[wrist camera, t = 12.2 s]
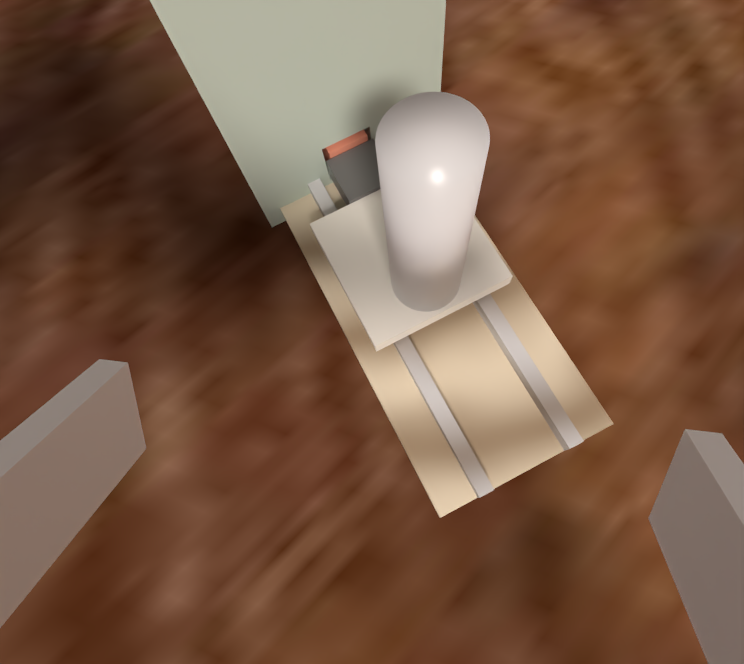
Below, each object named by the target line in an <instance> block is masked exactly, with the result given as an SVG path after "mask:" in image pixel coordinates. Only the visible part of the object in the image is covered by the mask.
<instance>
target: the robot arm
mask: <svg viewBox="0 0 744 664" xmlns="http://www.w3.org/2000/svg"><path fill="white" fill-rule="evenodd" d="M145 449H146V445H145V440H144V435H143V431H142V426H141V421H140V417H139V412H138V407H137V403H136V398H135V393H134V389H133V384H132V379H131V375H130V370H129V365H128V363H127V362H119V361H110V360H102V359H99V360H98V361H97V362H95V363H94V364H93V365H92V366H91V367H89V368H88V369H87V370H86V371H84V372H83V373H82V374H81V375H80V376H78V377H77V378H76V379H75V380H74V381H72V382H71V383H70V384H69V385H67V386H66V387H65V388H64V389H63V390H61V391H60V392H59V393H58V394H57V395H55V396H54V397H53V398H52V399H50V400H49V401H48V402H47V403H46V404H44V405H43V406H42V407H41V408H39V409H38V410H37V411H36V412H35V413H33V414H32V415H31V416H30V417H29V418H27V419H26V420H25V421H24V422H22V423H21V424H20V425H19V426H18V427H16V428H15V429H14V430H13V431H12V432H10V433H9V434H8V435H7V436H5V437H4V438H3V439H2V440H1V441H0V628H1V626H2V625H3V624H4V623H5V622H6V620H7V619H8V618H9V617H10V615H11V614H12V613H13V612H14V611H15V609H16V608H17V607H18V606H19V604H20V603H21V602H22V601H23V599H24V598H25V597H26V596H27V595H28V593H29V592H30V591H31V590H32V588H33V587H34V586H35V585H36V583H37V582H38V581H39V580H40V579H41V577H42V576H43V575H44V574H45V572H46V571H47V570H48V569H49V567H50V566H51V565H52V564H53V563H54V561H55V560H56V559H57V558H58V556H59V555H60V554H61V553H62V552H63V550H64V549H65V548H66V547H67V545H68V544H69V543H70V542H71V540H72V539H73V538H74V537H75V536H76V534H77V533H78V532H79V531H80V529H81V528H82V527H83V526H84V524H85V523H86V522H87V521H88V520H89V518H90V517H91V516H92V515H93V513H94V512H95V511H96V510H97V508H98V507H99V506H100V505H101V504H102V502H103V501H104V500H105V499H106V497H107V496H108V495H109V494H110V493H111V491H112V490H113V489H114V488H115V486H116V485H117V484H118V483H119V481H120V480H121V479H122V478H123V477H124V475H125V474H126V473H127V472H128V470H129V469H130V468H131V467H132V465H133V464H134V463H135V462H136V461H137V459H138V458H139V457H140V456H141V454H142V453H143V452H144V451H145ZM648 519H649V521H650V523H651V526H652V528H653V531H654V533H655V536H656V538H657V540H658V543H659V545H660V548H661V550H662V553H663V555H664V557H665V560H666V562H667V565H668V567H669V570H670V572H671V574H672V577H673V579H674V582H675V584H676V587H677V589H678V591H679V594H680V596H681V599H682V601H683V604H684V606H685V608H686V611H687V613H688V616H689V618H690V621H691V623H692V626H693V628H694V630H695V633H696V635H697V638H698V640H699V643H700V645H701V647H702V650H703V652H704V655H705V657H706V660H707V662H708V664H744V464H743V463H742V461H741V460H740V458H739V457H738V456H737V454H736V453H735V451H734V450H733V448H732V447H731V446H730V444H729V443H728V441H727V440H726V439H725V437H724V436H723V434H721V433H713V432H704V431H696V430H688V429H685V430H684V433H683V435H682V438H681V440H680V442H679V445H678V447H677V450H676V452H675V455H674V457H673V460H672V462H671V465H670V467H669V469H668V472H667V474H666V477H665V479H664V482H663V484H662V487H661V489H660V492H659V494H658V496H657V499H656V501H655V504H654V506H653V509H652V511H651V514H650V516H649V518H648Z"/></svg>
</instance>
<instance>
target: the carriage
mask: <svg viewBox="0 0 744 664" xmlns="http://www.w3.org/2000/svg"><path fill="white" fill-rule="evenodd" d="M489 144H490V133H489V128H488V125H487V122H486V120H485V118H484V117H483V115H482V113H481V112H480V111H479V110H478V109H477V108H476V107H475V106H474V105H473V104H471V103H470V102H469V101H467V100H465V99H463V98H461V97H459V96H456V95H454V94H450V93H445V92H424V93H418V94H415V95H411V96H409V97H407V98H404V99H403V100H401V101H399V102H398V103H396V104H395V105H393V106H392V107H391V108H390V109H389V110H388V111H387V112H386V113H385V115H384V116H383V118H382V119H381V121H380V123H379V125H378V128H377V131H376V137H375V141H374V139H371V140H369V141H366V142H364V143H362V144H360V145H358V146H356V147H354V148H352V149H350V150H348V151H346V152H344V153H342V154H339V155H337V156H335V157H333V158H331V159H329V160H327V161H326V162H327V166H328V170H329V174H330V177H331V179H332V181H333V183H334V184H335V186H336V188H337V190H338V191H339V193H340V195H341V197H342V198H343V200H344V202H345V204H346V205H347V206H345V207H343V208H341V209H339V210H337V211H335V212H333V213H331V214H329V215H326V216H324V217H322V218H320V219H318V220H316V221H314V222H312V223H310V226H311V229H312V231H313V234H314V235H315V237H316V239H317V241H318V243H319V245H320V247H321V249H322V250H323V252H324V254H325V256H326V258H327V260H328V262H329V264H330V265H331V267H332V269H333V271H334V273H335V275H336V277H337V279H338V280H339V282H340V284H341V286H342V288H343V290H344V292H345V294H346V296H347V297H348V299H349V301H350V303H351V305H352V307H353V309H354V311H355V312H356V314H357V316H358V318H359V320H360V322H361V324H362V326H363V327H364V329H365V331H366V333H367V335H368V337H369V339H370V341H371V342H372V344H373V346H374V348H375V350H376V352H377V351H379V350H381V349H383V348H385V347H387V346H389V345H391V344H393V343H394V342H396V341H398V340H400V339H402V338H404V337H406V336H408V335H410V334H412V333H414V332H416V331H418V330H420V329H422V328H424V327H426V326H428V325H430V324H432V323H433V322H435V321H437V320H439V319H441V318H443V317H445V316H447V315H449V314H451V313H453V312H455V311H457V310H459V309H461V308H463V307H465V306H467V305H469V304H471V303H472V302H474V301H476V300H478V299H480V298H482V297H484V296H486V295H488V294H490V293H492V292H494V291H496V290H498V289H500V288H502V287H504V286H506V285H508V284H509V283H510V281H511V279H512V277H513V276H512V274H511V272H510V271H509V269H508V268H507V266H506V265H505V263H504V262H503V260H502V259H501V257H500V256H499V254H498V253H497V251H496V250H495V248H494V247H493V245H492V244H491V242H490V241H489V239H488V238H487V236H486V235H485V233H484V232H483V230H482V229H481V227H480V226H479V224H478V223H477V221H476V220H475V218H474V216H475V211H476V206H477V201H478V197H479V192H480V187H481V182H482V177H483V173H484V168H485V163H486V158H487V153H488V149H489Z"/></svg>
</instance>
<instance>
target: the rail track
mask: <svg viewBox="0 0 744 664" xmlns="http://www.w3.org/2000/svg"><path fill="white" fill-rule="evenodd" d="M308 187H309V190H310V192H311V194H308V195H306V196H304V197H302V198H300V199H298V200H296V201H294V202H292V203H290V204H288V205H286V206H284V207H282V208H280V209H281V211H282V213H283V215H284V218H285V220H286V222H287V224H288V226H289V227H290V229H291V231H292V233H293V235H294V237H295V239H296V241H297V243H298V245H299V247H300V249H301V251H302V253H303V255H304V256H305V258H306V260H307V262H308V264H309V266H310V268H311V270H312V272H313V274H314V276H315V278H316V280H317V282H318V284H319V285H320V287H321V289H322V291H323V293H324V295H325V297H326V299H327V301H328V303H329V305H330V307H331V309H332V311H333V313H334V314H335V316H336V318H337V320H338V322H339V324H340V326H341V328H342V330H343V332H344V334H345V336H346V338H347V340H348V342H349V343H350V345H351V347H352V349H353V351H354V353H355V355H356V357H357V359H358V361H359V363H360V365H361V367H362V369H363V371H364V372H365V374H366V376H367V378H368V380H369V382H370V384H371V386H372V388H373V390H374V392H375V394H376V396H377V398H378V400H379V401H380V403H381V405H382V407H383V409H384V411H385V413H386V415H387V417H388V419H389V421H390V423H391V425H392V427H393V429H394V431H395V432H396V434H397V436H398V438H399V440H400V442H401V444H402V446H403V448H404V450H405V452H406V454H407V456H408V458H409V460H410V461H411V463H412V465H413V467H414V469H415V471H416V473H417V475H418V477H419V479H420V481H421V483H422V485H423V487H424V489H425V490H426V492H427V494H428V496H429V498H430V500H431V502H432V504H433V506H434V508H435V510H436V512H437V514H438V516H439V517H440V518H441V517H442V516H444V515H446V514H448V513H450V512H452V511H454V510H455V509H457V508H459V507H461V506H463V505H465V504H466V503H468V502H470V501H472V500H474V499H476V498H480V497H482V496H484V495H486V494H487V493H489V492H491V491H493V490H494V488H496V487H498V486H500V485H501V484H503V483H505V482H507V481H509V480H511V479H513V478H514V477H516V476H518V475H520V474H522V473H524V472H525V471H527V470H529V469H531V468H533V467H535V466H537V465H538V464H540V463H542V462H544V461H546V460H548V459H549V458H551V457H553V456H555V455H557V454H559V453H560V452H562V451H564V450H568V449H570V448H572V447H574V446H576V445H578V444H580V443H581V442H583V441H584V439H586V438H588V437H590V436H592V435H594V434H596V433H597V432H599V431H601V430H603V429H605V428H607V427H608V426H610V425H612V424H613V422H612V421H611V419H610V418H609V416H608V415H607V413H606V412H605V410H604V409H603V407H602V406H601V404H600V403H599V401H598V400H597V398H596V397H595V395H594V394H593V392H592V391H591V389H590V388H589V386H588V385H587V383H586V382H585V380H584V379H583V377H582V376H581V374H580V373H579V371H578V370H577V368H576V367H575V365H574V364H573V362H572V361H571V359H570V358H569V356H568V355H567V353H566V352H565V350H564V349H563V347H562V346H561V344H560V343H559V341H558V340H557V338H556V337H555V335H554V334H553V332H552V330H551V329H550V327H549V326H548V324H547V323H546V321H545V320H544V318H543V317H542V315H541V314H540V312H539V311H538V309H537V308H536V306H535V305H534V303H533V302H532V300H531V299H530V297H529V296H528V294H527V293H526V291H525V290H524V288H523V287H522V285H521V284H520V282H519V281H518V279H517V278H516V276H515V275H514V273H513V272H512V270H511V269H510V267H509V266H508V264H507V263H506V261H505V260H504V258H503V257H502V255H501V254H500V252H499V251H498V249H497V248H496V246H495V245H494V243H493V242H492V240H491V239H490V237H489V236H488V234H487V233H486V231H485V230H484V228H483V227H482V225H481V224H480V222H479V221H478V219H477V218H476V216H474V218H475V220H476V221H477V223H478V224H479V226H480V227H481V229H482V230H483V232H484V233H485V235H486V236H487V238H488V239H489V241H490V242H491V244H492V245H493V247H494V248H495V250H496V251H497V253H498V254H499V256H500V257H501V259H502V260H503V262H504V263H505V265H506V266H507V268H508V269H509V271H510V272H511V274H512V276H513V277H512V279H511V281H510V283H509V284H508V285H506V286H504V287H502V288H500V289H498V290H496V291H494V292H492V293H490V294H488V295H486V296H484V297H482V298H480V299H478V300H476V301H474V302H472V303H471V304H469V305H467V306H465V307H463V308H461V309H459V310H457V311H455V312H453V313H451V314H449V315H447V316H445V317H443V318H441V319H439V320H437V321H435V322H433V323H432V324H430V325H428V326H426V327H424V328H422V329H420V330H418V331H416V332H414V333H412V334H410V335H408V336H406V337H404V338H402V339H400V340H398V341H396V342H394V343H393V344H391V345H389V346H387V347H385V348H383V349H381V350H379V351H377V352H376V350H375V348H374V346H373V344H372V342H371V341H370V339H369V337H368V335H367V333H366V331H365V329H364V327H363V326H362V324H361V322H360V320H359V318H358V316H357V314H356V312H355V311H354V309H353V307H352V305H351V303H350V301H349V299H348V297H347V296H346V294H345V292H344V290H343V288H342V286H341V284H340V282H339V280H338V279H337V277H336V275H335V273H334V271H333V269H332V267H331V265H330V264H329V262H328V260H327V258H326V256H325V254H324V252H323V250H322V249H321V247H320V245H319V243H318V241H317V239H316V237H315V235H314V234H313V231H312V229H311V226H310V223H312V222H314V221H316V220H318V219H320V218H322V217H324V216H326V215H329V214H331V213H333V212H335V211H337V210H339V209H341V208H343V207H345V206H347V205H346V204H345V202H344V200H343V198H342V197H341V195H340V193H339V191H338V190H337V188H336V186H335V184H334V183H331V184H329V185H327V186H325V187H324V185H323V183H322V182H321V180H320V178H319V179H317V180H315V181H313V182H311V183H309V184H308Z"/></svg>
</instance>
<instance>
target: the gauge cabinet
mask: <svg viewBox="0 0 744 664" xmlns="http://www.w3.org/2000/svg"><path fill="white" fill-rule="evenodd" d="M150 2H151V4H152V6H153V8H154V9H155V11H156V13H157V15H158V17H159V19H160V21H161V22H162V24H163V26H164V28H165V30H166V32H167V34H168V35H169V37H170V39H171V41H172V43H173V45H174V47H175V48H176V50H177V52H178V54H179V56H180V58H181V60H182V61H183V63H184V65H185V67H186V69H187V71H188V73H189V74H190V76H191V78H192V80H193V82H194V84H195V86H196V87H197V89H198V91H199V93H200V95H201V97H202V99H203V100H204V102H205V104H206V106H207V108H208V110H209V112H210V113H211V115H212V117H213V119H214V121H215V123H216V125H217V126H218V128H219V130H220V132H221V134H222V136H223V138H224V139H225V141H226V143H227V145H228V147H229V149H230V151H231V152H232V154H233V156H234V158H235V160H236V162H237V164H238V165H239V167H240V169H241V171H242V173H243V175H244V177H245V178H246V180H247V182H248V184H249V186H250V188H251V190H252V191H253V193H254V195H255V197H256V199H257V201H258V203H259V204H260V206H261V208H262V210H263V212H264V214H265V216H266V217H267V219H268V221H269V223H270V225H271V227H274V226H276V225H278V224H280V223H282V222H284V221H286V220H285V218H284V215H283V213H282V211H281V209H280V208H282V207H284V206H286V205H288V204H290V203H292V202H294V201H296V200H298V199H300V198H302V197H304V196H306V195H308V194H311V192H310V190H309V187H308V184H309V183H311V182H313V181H315V180H317V179H319V178H320V180H321V182H322V183H323V185H324V187H325V186H327V185H329V184H331V183H333V181H332V179H331V177H330V174H329V170H328V166H327V163H326V161H325V159H324V155H323V152H322V149H324V148H326V147H328V146H330V145H332V144H334V143H336V142H338V141H340V140H343V139H345V138H347V137H349V136H351V135H353V134H355V133H357V132H359V131H361V130H363V129H364V131H365V132H366V134H367V136H368V141H369V140H371V139H374V141H375V137H376V131H377V128H378V125H379V123H380V121H381V119H382V118H383V116H384V115H385V113H386V112H387V111H388V110H389V109H390V108H391V107H392V106H393V105H395V104H396V103H398V102H399V101H401V100H403V99H404V98H407V97H409V96H411V95H415V94H418V93H424V92H440V91H441V74H442V57H443V41H444V24H445V8H446V0H150Z"/></svg>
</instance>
